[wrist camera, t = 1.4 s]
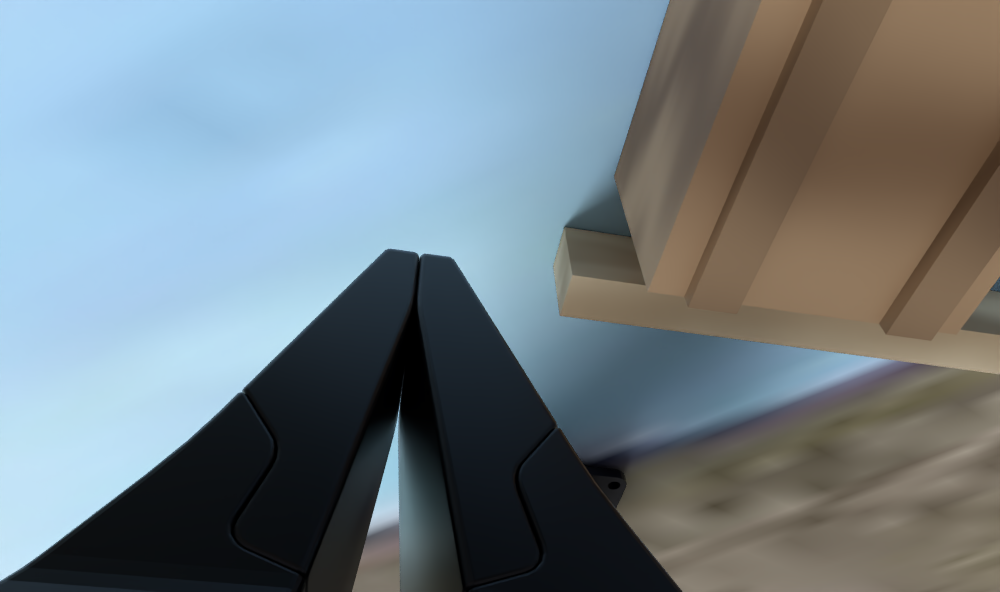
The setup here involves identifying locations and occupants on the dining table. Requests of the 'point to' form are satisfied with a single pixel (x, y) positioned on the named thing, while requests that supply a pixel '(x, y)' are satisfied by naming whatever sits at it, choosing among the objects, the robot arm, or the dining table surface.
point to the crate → (821, 159)
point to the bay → (749, 312)
